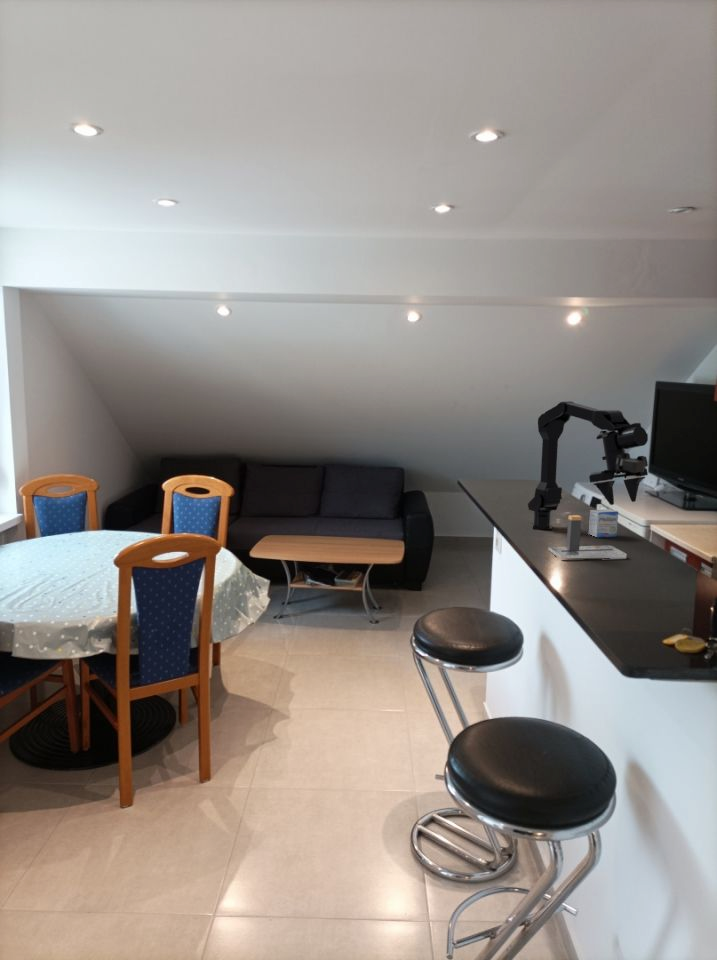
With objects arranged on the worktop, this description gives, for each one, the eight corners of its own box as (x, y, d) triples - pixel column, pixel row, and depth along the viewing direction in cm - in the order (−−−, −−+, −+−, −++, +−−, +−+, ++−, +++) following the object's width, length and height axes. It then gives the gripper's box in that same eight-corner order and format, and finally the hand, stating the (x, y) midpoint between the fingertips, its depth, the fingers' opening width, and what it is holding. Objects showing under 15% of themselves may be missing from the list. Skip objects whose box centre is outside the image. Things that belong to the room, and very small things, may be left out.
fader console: (561, 560, 187) (561, 555, 187) (548, 551, 196) (548, 546, 196) (626, 558, 190) (626, 553, 189) (610, 550, 198) (611, 545, 198)
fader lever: (569, 550, 191) (571, 517, 189) (566, 548, 193) (568, 515, 191) (579, 550, 191) (581, 516, 189) (575, 548, 193) (578, 515, 191)
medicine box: (596, 538, 212) (598, 512, 211) (587, 535, 216) (589, 509, 215) (616, 537, 214) (619, 511, 213) (608, 533, 218) (610, 508, 217)
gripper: (614, 449, 183) (622, 504, 182) (658, 445, 191) (667, 497, 190) (584, 455, 193) (592, 507, 192) (628, 451, 201) (636, 501, 200)
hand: (623, 503), depth 193 cm, fingers open, 9 cm apart
